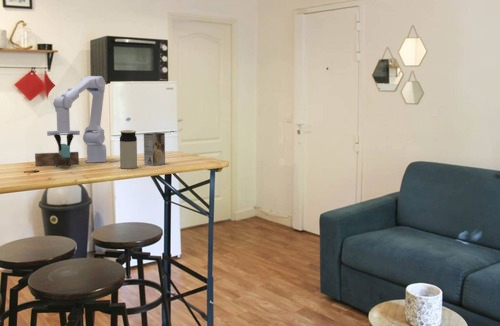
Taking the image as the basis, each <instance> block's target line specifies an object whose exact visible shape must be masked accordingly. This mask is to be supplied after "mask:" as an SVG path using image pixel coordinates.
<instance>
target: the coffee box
mask: <svg viewBox="0 0 500 326" xmlns="http://www.w3.org/2000/svg"><path fill="white" fill-rule="evenodd" d="M165 136H166V135H165V132H146V133H143V156H144V157H143V162H144V163H143V164H144V165H145V166H152V167H155V166H160V165H165V164H166V148H165V147H166V142H165V140H166V139H165V138H166V137H165Z"/></svg>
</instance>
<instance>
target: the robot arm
mask: <svg viewBox="0 0 500 326" xmlns="http://www.w3.org/2000/svg"><path fill="white" fill-rule="evenodd" d="M105 80H106V79H104V77H103V76H102V75H97V76H96V75H90V76H89V75H85V76H83V77H82V78H81V81H80V82H79V83H78V84H77V85H75V87H68V88H67V90H66V91H65V92H63V93H61V95H59V96H56V97H55V98H54V99H53V102H52V104H53V107H54V109H55V112H56V130H51V131H50V130H49V131H46V135H47V136H53V137H54V139H55V141H56V143H57V145H58V147H59V150H60V151H61V144H62V137H61V136H66V142H67V143H66V145H68V146H70V147H71V143H72V142H73V141H72V140H73V139H74V136H79V135H81V133H80V130H71V127H70V125H71V123H70V122H71V121H70V109H71V108H72V106H73V103H74V102H75V101H76V100H77V99H78V98H80V94H81V93H82V92H84V91H85V90H87V91H88V92H89V93H90V94H91V95H92V101H91V106H90V107H91V109H90V116H89V125H88V126H87V127H85V129H84V133H83V135H82V140H83V142H84V143H85V145H86V159H84V160H85V162H87V163H106V162H107V161H108V160H107V146H106V144H104V142H105V140H106V138H105V130H104V129H103V128H102V127H101V122H102V112H103V105H104V104H103V103H104V95H105V89H106V81H105ZM58 147H57V148H58Z"/></svg>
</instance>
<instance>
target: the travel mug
mask: <svg viewBox="0 0 500 326" xmlns="http://www.w3.org/2000/svg"><path fill="white" fill-rule="evenodd" d="M119 132H120V137H119V165H120V166H119V168H121V169H123V170H129V169H131V170H132V169H133V168H134V169H137V168H138V147H137V146H138V143H137V142H138V141H137V140H138V138H137V136H136V132H137V131H136V130H127V129H126V130H120V131H119Z"/></svg>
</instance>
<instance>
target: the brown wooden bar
mask: <svg viewBox="0 0 500 326" xmlns="http://www.w3.org/2000/svg"><path fill="white" fill-rule="evenodd" d="M79 159H80V158H79V151H70V157H64V158H63V157H62V156H61V155H59V152H41V153H39V152H38V153H34V162H35V164H34V165H35V167H49V166H50V167H51V166H53V167H56V168H57V167H58V166H68V167H71V165H80V162H79V161H80V160H79Z"/></svg>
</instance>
